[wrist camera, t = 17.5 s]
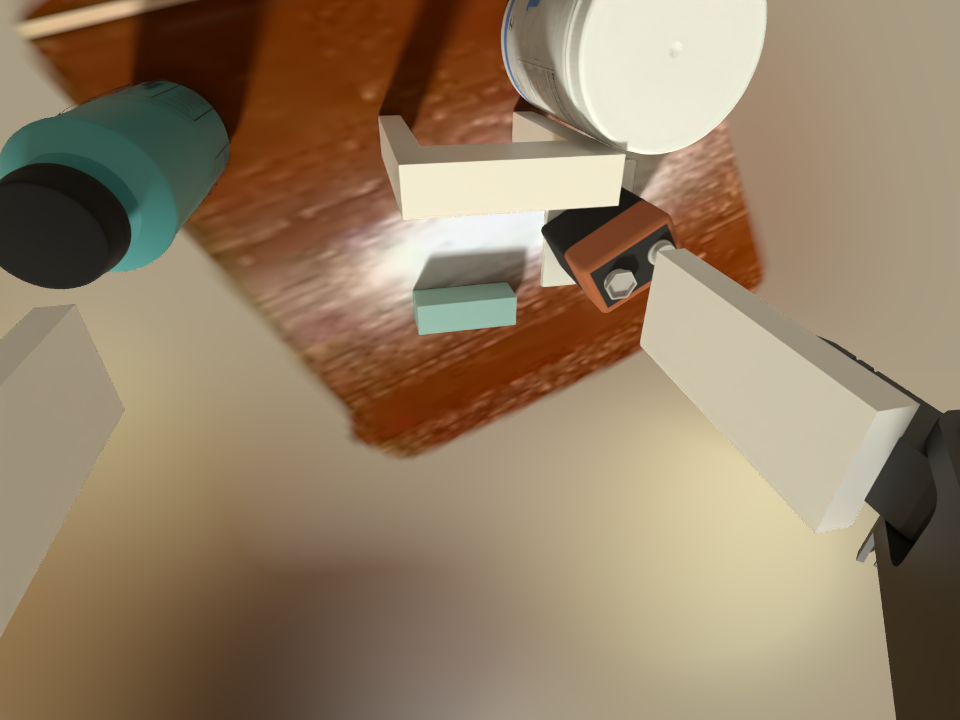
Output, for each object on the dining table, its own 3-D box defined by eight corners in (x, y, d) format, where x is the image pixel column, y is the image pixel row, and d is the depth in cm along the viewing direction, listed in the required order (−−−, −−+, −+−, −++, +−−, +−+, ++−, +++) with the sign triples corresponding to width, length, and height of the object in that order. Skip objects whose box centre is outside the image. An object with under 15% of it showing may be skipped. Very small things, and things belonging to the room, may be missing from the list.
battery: (537, 226, 42) (585, 276, 34) (610, 176, 41) (678, 215, 33) (560, 268, 45) (610, 323, 36) (630, 221, 44) (698, 268, 36)
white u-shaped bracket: (378, 115, 36) (398, 165, 24) (533, 111, 38) (625, 154, 26) (381, 154, 37) (402, 220, 25) (531, 148, 39) (618, 205, 27)
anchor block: (412, 290, 43) (417, 306, 41) (506, 281, 45) (516, 297, 42) (414, 317, 45) (419, 334, 42) (506, 308, 46) (515, 324, 44)
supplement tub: (572, -93, 32) (711, -160, 20) (656, 32, 37) (809, 38, 25) (466, 43, 35) (534, 54, 23) (558, 143, 40) (653, 197, 28)
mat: (548, 163, 40) (551, 165, 40) (633, 159, 42) (636, 161, 41) (540, 284, 46) (542, 287, 45) (615, 277, 47) (618, 279, 47)
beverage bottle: (180, 52, 32) (13, 85, 15) (260, 150, 36) (193, 262, 19) (97, 114, 33) (-148, 209, 16) (183, 204, 36) (56, 356, 20)
